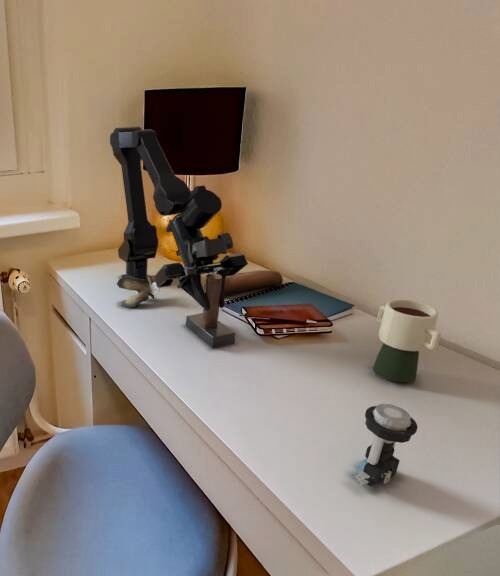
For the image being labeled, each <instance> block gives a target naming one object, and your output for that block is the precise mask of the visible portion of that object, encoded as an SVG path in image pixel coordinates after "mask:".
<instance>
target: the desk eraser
mask: <svg viewBox="0 0 500 576" xmlns="http://www.w3.org/2000/svg"><path fill="white" fill-rule="evenodd" d="M205 275H206V276H205V284H206V285H205V284H204V292H205V295H206V297H207V300H208V303H209V306H210V310H208V311H206V310H205V309H204V308H202V310H203V311H202V312H200V313H196V314H190V315H186V317H185V318H186V320H185V327H186V328H187V329H188V330H189V331H191V332H192V333H193V334H194V335H196V336H197V337H198V338H199V339H200V340H201V341H203V342H204V343H205V344H206V345H207V346H208V347H210V349H216V348H221V347H225V346H229V345H234V344H235V337H236V332H235V331H233V330H232V329H231V328H229V327H228V326H227V325H225V324H224V323H222V322H221V321H219V315H220V307H219V305H220V294H221V284H222V276H221V275H219V274H208V273H207V274H205Z"/></svg>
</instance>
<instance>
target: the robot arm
mask: <svg viewBox="0 0 500 576" xmlns="http://www.w3.org/2000/svg"><path fill="white" fill-rule="evenodd" d="M109 135H110V136H109V144H110V146H111V150H112V155H113V157H114V158H115V159H116V161H117V162H118V164H119V165H120V166H121V174H122V183H123V190H124V199H125V206H126V207H125V208H126V213H127V225H126V227H125V229H124V231H123V242H122V243H121V244H120V246H119V247H118V249H117V253H118V254H117V255H118V258H119V259H120V260H122V261H123V262H125V274H121V277H125V276H133V277H135V278H138V279H144V280H145V281H146V282H147V283H148V284H149V280H148V278H149V277H150V276H149V275H148V267H149V266H148V265H149V259H155V258H156V256H157V251H158V248H159V245H160V244H159V238H158V231H157V226H156V225H155V224H154V225H152V223H151V222H150V221H149V219H148V213H147V211H148V210H147V203H146V195H145V188H144V187H145V186H144V179H143V171H142V164H143V165H144V167H145V170H146V172H147V174H148V176H149V178H150V180H151V183H152V185H153V188H154V189H153V195H152V200H153V202H154V207H155V209H156V211H157V212H158V214H159V215H160V216H163V217H168V216H173V218H172V219H169V220H168V224H167V226H166V228H165V232H166V233H171V234H172V236H173V239H174V242H175V245H176V248H177V250H176V251H175V254H176V257H180V259H181V261H182V263H181V262H174V263H173V262H172V263H166V264H163V265H162V267H161V268H159V270H158V271H157V272H156V274H155V276H154V282H156V285H157V287H158V288H160V289H161V288H166V287H167V288H168V287H170V286H171V285H172V284H173V283H174V280H176V279H177V281H178V284H177V285H176V288H177V289H181V290H182V291H184V292H185V293H187V294H188V295H189V296H190V297H191V298H192V299H193V300H194V301H195V302H197V304H198V305H199V306H201V307H202V309H205V310H206V311H208V310H210V306H209V303H208V300H207V297H206V295H205V288H204V287H203V285H202V275H208V274H219V275H221V276H222V284H221V294H220V305H219V309H223V308H224V307H226V306H225V303H226V302H225V300H226V299H225V295H224V286H225V278H226V277H229V276H232V275H235V274H238V273H240V272H241V270H242V269H243V268H245V267H246V266H247V265H249V262H248V260H247V258H246V256H245V254H242V253H241V252H238V253H233V254H232V253H231V254H228V250H230V249H233V248H234V242H233V238H232V236H231V234H230V232H223V233H220V234H217V235H216V238H211V239H210V237H208V235H206V236H204V235H203V232H202V229H203V228H205V227H206V226H207V225H208V224H209V223H210V222H211V221H212V220H213V219H214V217H216V215H217V214H218V213H219V212H220V211H221V209H222V206H223V204H222V200H221V198H220V197H219V196H218V195H217V193H215V192H213V191H212V190H209V189H207V188H206V185H204V184H203V185H195V186H194V188H193V189H192V191H191V189H190V188H189V186H188V184H186V182H185V181H184V180H183V179H181V178H180V177H178V176H176V175H175V173H174V170H173V169H172V167H171V165H170V164H169V161H168V159H167V158H166V154H165V153H164V151H163V149H162V146H161V145H160V142H159V141H158V135H157V132H156V130H153V129H151V128H150V129H143V128H141V127H140V126H123V127H115V128H114V130H113V131H112V132H111V134H109ZM219 255H225V256H223V258H222V259H220V260H219V261H217V262H214V261H216V260H217V259H219ZM121 277H120V278H121ZM150 279H151V280H152V281H153V279H152V278H151V277H150Z"/></svg>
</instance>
